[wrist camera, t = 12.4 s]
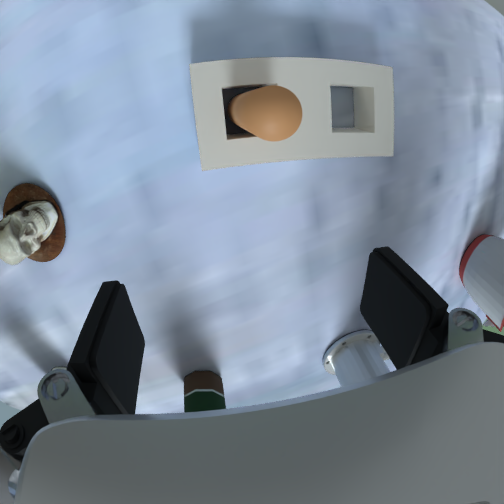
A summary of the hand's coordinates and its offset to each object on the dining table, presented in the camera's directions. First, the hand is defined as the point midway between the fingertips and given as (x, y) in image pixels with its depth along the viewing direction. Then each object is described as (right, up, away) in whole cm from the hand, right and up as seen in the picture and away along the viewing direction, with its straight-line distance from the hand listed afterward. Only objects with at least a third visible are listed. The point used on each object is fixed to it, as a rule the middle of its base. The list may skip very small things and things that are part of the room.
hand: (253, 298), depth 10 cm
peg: (-1, +18, +19) cm, 26 cm away
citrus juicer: (+48, 0, +39) cm, 62 cm away
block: (+5, +19, +20) cm, 28 cm away
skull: (-31, +6, +21) cm, 37 cm away
